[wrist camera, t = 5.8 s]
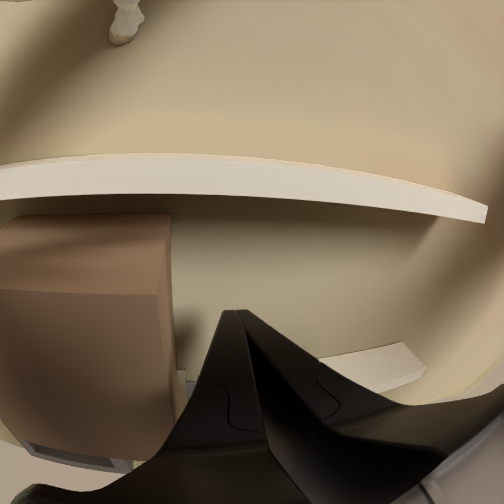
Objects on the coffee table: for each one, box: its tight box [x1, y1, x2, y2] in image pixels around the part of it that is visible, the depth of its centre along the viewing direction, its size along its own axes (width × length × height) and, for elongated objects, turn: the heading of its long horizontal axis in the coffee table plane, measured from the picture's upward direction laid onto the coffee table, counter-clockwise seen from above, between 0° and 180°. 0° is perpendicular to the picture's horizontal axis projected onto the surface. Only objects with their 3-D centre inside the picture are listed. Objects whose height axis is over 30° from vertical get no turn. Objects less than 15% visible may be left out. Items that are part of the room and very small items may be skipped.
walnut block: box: [0, 213, 179, 461], centre depth 7 cm, size 6×6×5 cm
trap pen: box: [0, 153, 488, 474], centre depth 9 cm, size 27×15×3 cm, turn 85°
